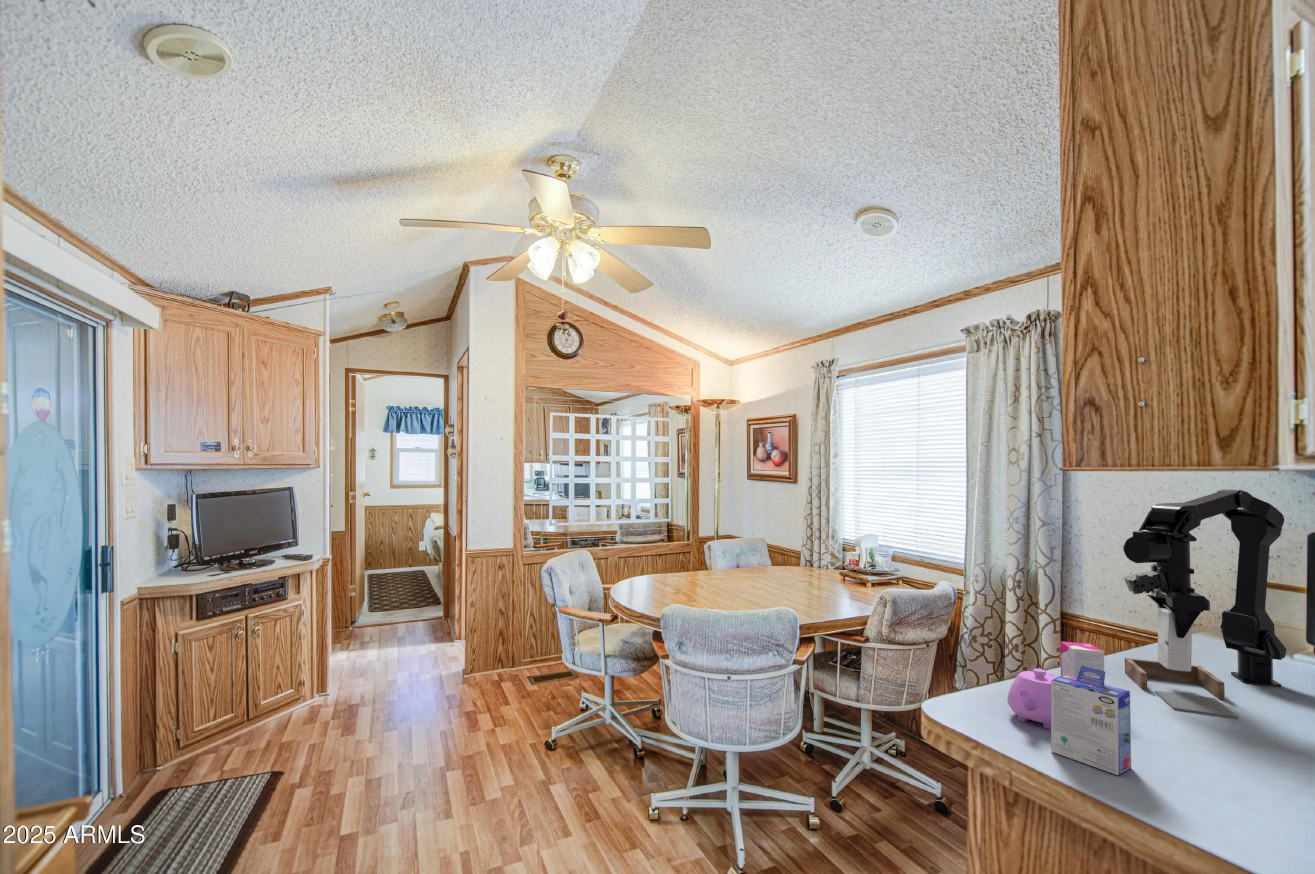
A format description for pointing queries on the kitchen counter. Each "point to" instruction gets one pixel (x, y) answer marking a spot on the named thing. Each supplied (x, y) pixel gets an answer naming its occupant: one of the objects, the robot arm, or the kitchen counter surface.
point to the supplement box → (1080, 659)
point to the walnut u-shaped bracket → (1172, 675)
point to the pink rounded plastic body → (1032, 696)
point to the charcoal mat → (1196, 704)
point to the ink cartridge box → (1091, 721)
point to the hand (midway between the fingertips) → (1174, 633)
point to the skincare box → (1173, 643)
